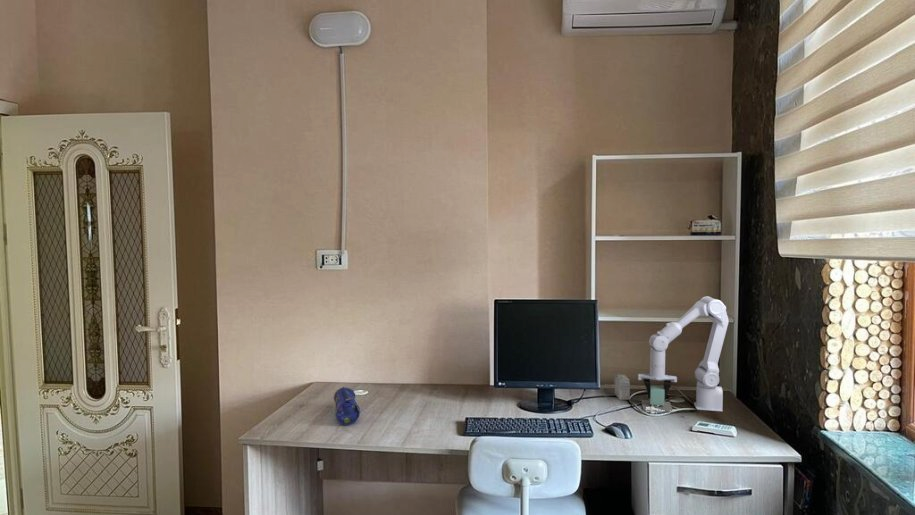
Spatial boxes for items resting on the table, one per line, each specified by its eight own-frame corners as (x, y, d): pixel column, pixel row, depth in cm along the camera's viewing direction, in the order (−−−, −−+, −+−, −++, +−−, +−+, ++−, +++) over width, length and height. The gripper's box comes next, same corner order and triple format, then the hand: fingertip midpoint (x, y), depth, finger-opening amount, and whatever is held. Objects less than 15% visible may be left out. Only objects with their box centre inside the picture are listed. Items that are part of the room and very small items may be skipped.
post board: (669, 403, 229) (669, 392, 228) (672, 412, 218) (673, 400, 218) (641, 401, 231) (641, 390, 231) (643, 410, 221) (643, 398, 220)
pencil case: (360, 425, 206) (360, 400, 206) (336, 428, 204) (336, 402, 204) (355, 406, 228) (354, 383, 227) (333, 408, 225) (333, 385, 225)
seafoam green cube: (662, 401, 226) (663, 386, 226) (664, 405, 221) (664, 390, 221) (649, 400, 228) (649, 385, 227) (650, 404, 223) (650, 389, 222)
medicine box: (629, 400, 234) (630, 379, 233) (619, 400, 234) (619, 379, 233) (624, 394, 242) (625, 374, 241) (614, 394, 242) (614, 374, 241)
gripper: (639, 366, 221) (638, 400, 222) (678, 368, 218) (677, 402, 219) (637, 361, 228) (637, 394, 229) (675, 364, 225) (675, 397, 226)
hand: (656, 398), depth 224 cm, fingers closed on seafoam green cube, 5 cm apart
